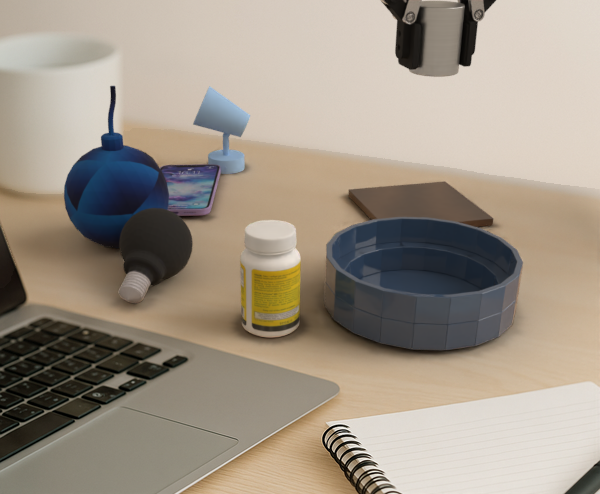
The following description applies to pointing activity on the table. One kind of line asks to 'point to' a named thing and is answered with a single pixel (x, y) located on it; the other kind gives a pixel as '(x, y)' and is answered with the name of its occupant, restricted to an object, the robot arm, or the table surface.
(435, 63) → the tin
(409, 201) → the mat
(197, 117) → the spotlight
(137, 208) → the bomb
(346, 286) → the bowl
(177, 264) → the light bulb
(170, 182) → the smartphone
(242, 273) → the supplement bottle
